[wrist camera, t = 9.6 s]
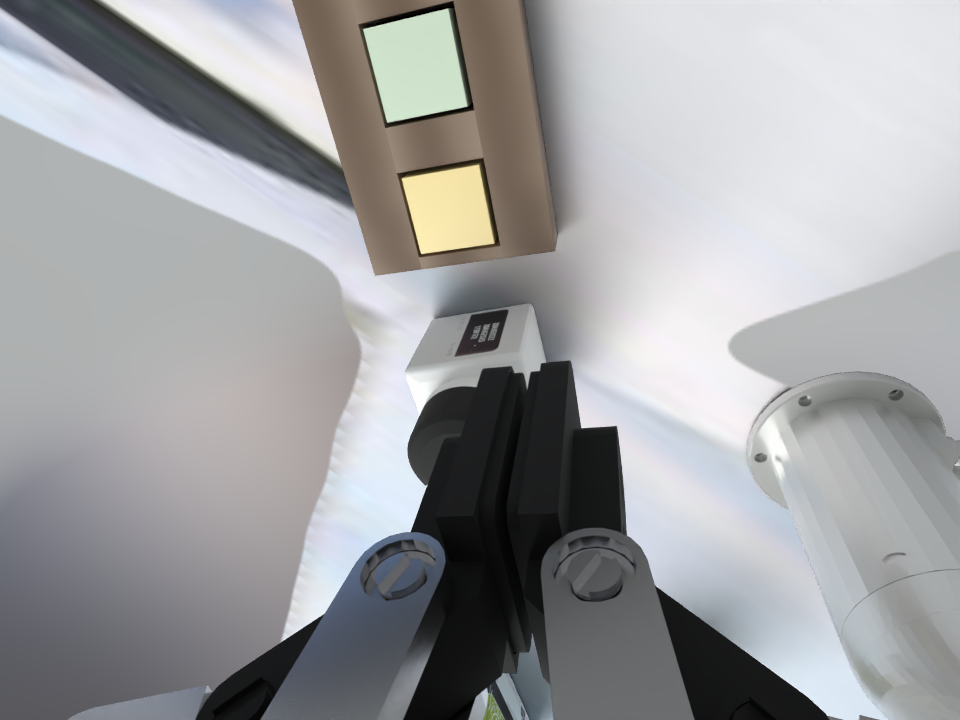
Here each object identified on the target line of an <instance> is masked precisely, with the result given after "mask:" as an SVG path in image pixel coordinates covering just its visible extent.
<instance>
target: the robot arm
mask: <svg viewBox="0 0 960 720" xmlns="http://www.w3.org/2000/svg"><path fill="white" fill-rule="evenodd" d="M747 459H748V465H749V468H750V471H751V473H752V476H753V479H754V481H755V482H756V484H757V485H758V487H759V488H760V490H761V491H762V492H763V493H764V494H765V495H766V496H767V497H768V498H769V499H771V500H772V501H774V502H775V503H777V504H778V505H780V506H782V507H784V508H786V509H788V510H789V511H790V513H791V516H792V518H793V521H794V524H795V526H796V529H797V531H798V534H799V536H800V539H801V542H802V544H803V547H804V549H805V552H806V554H807V557H808V560H809V562H810V565H811V567H812V570H813V572H814V575H815V578H816V580H817V583H818V585H819V588H820V590H821V593H822V596H823V598H824V601H825V603H826V606H827V608H828V611H829V614H830V616H831V619H832V621H833V624H834V626H835V629H836V632H837V634H838V637H839V639H840V642H841V644H842V647H843V650H844V652H845V655H846V657H847V660H848V662H849V665H850V667H851V670H852V672H853V674H854V676H855V678H856V680H857V682H858V684H859V685H860V687H861V688H862V690H863V691H864V693H865V694H866V696H867V697H868V698H869V700H870V701H871V702H872V703H873V704H874V705H875V706H876V708H877V709H878V710H879V711H880V712H881V713H882V714H883V715H884V716H885V717H886V718H888V719H889V720H960V466H956V467H955V466H954V464H956V463H957V461H958V460H960V441H954V440H953V439H952V438H951V437H946V430H945V427H944V423H943V420H942V417H941V416H940V414H939V413H938V411H937V409H936V408H935V407H934V405H933V404H932V403H931V402H930V401H929V400H928V398H927V397H926V396H925V395H924V394H923V393H921V392H920V391H919V390H918V389H916V388H915V387H913V386H912V385H911V384H909V383H906V382H904V381H902V380H899V379H897V378H895V377H891V376H887V375H882V374H879V373H869V372H846V373H836V374H831V375H827V376H822V377H818V378H815V379H813V380H810V381H807V382H805V383H802V384H800V385H798V386H796V387H794V388H792V389H791V390H789V391H787V392H785V393H783V394H782V395H781V396H780V397H778V398H777V399H776V400H774V401H773V402H772V403H771V404H770V405H769V406H768V407H767V408H766V409H765V410H764V411H763V412H762V413H761V414H760V416H759V417H758V419H757V421H756V422H755V424H754V425H753V427H752V429H751V432H750V435H749V438H748V441H747ZM532 633H533V637H534V641H535V646H536V650H537V654H538V658H539V662H540V666H541V670H542V674H543V677H544V678H545V680H546V681H547V682H548V683H549V684H550V685H551V695H552V706H553V718H554V720H842V719H838V718H834V717H830V716H827V715H826V714H825V713H824V712H823V711H822V710H821V709H820V708H819V707H818V706H817V705H815V704H814V703H813V702H812V701H811V700H810V699H809V698H808V697H807V696H805V695H804V694H803V693H801V692H800V691H798V690H797V689H796V688H794V687H793V686H792V685H790V684H789V683H787V682H786V681H785V680H783V679H782V678H781V677H779V676H778V675H777V674H775V673H774V672H772V671H771V670H770V669H768V668H767V667H766V666H764V665H763V664H761V663H760V662H759V661H757V660H756V659H755V658H753V657H752V656H750V655H749V654H748V653H746V652H745V651H744V650H742V649H741V648H740V647H738V646H737V645H735V644H734V643H733V642H731V641H730V640H729V639H727V638H726V637H724V636H723V635H722V634H720V633H719V632H718V631H716V630H715V629H713V628H712V627H711V626H709V625H708V624H707V623H705V622H704V621H703V620H701V619H700V618H698V617H697V616H696V615H694V614H693V613H692V612H690V611H689V610H687V609H686V608H685V607H683V606H682V605H681V604H679V603H678V602H676V601H675V600H674V599H672V598H671V597H670V596H668V595H667V594H666V593H664V592H663V591H661V590H660V589H659V588H657V587H656V586H655V584H654V581H653V577H652V574H651V570H650V567H649V564H648V560H647V558H646V556H645V554H644V552H643V550H642V548H641V547H640V546H639V545H638V544H637V543H636V542H635V541H633V540H632V539H631V538H630V537H628V536H627V531H626V514H625V499H624V486H623V475H622V465H621V456H620V447H619V438H618V430H617V426H612V427H596V428H581V423H580V417H579V410H578V403H577V396H576V390H575V383H574V376H573V370H572V364H571V361H560V362H549V363H541V366H540V371H533V372H531V373H530V377H529V383H528V388H527V386H526V381H525V376H524V374H523V372H522V373H514V370H513V368H512V366H506V367H495V368H484V369H482V371H481V374H480V377H479V381H478V384H477V387H476V390H475V393H474V396H473V400H472V403H471V406H470V409H469V412H468V415H467V418H466V422H465V425H464V428H463V431H462V434H461V436H456V437H447V438H445V439H444V441H443V443H442V446H441V448H440V451H439V454H438V457H437V460H436V463H435V465H434V468H433V471H432V474H431V477H430V479H429V482H428V485H427V488H426V491H425V494H424V496H423V499H422V502H421V505H420V508H419V510H418V513H417V516H416V519H415V522H414V524H413V527H412V530H411V532H405V533H400V534H396V535H392V536H389V537H387V538H385V539H383V540H381V541H379V542H377V543H375V544H374V545H373V546H372V547H370V548H369V549H368V550H367V551H365V552H364V553H363V555H362V556H361V557H360V558H359V560H358V561H357V562H356V564H355V565H354V567H353V568H352V570H351V572H350V573H349V575H348V577H347V578H346V580H345V582H344V583H343V585H342V587H341V588H340V590H339V591H338V593H337V595H336V596H335V598H334V600H333V601H332V603H331V605H330V606H329V608H328V610H327V611H326V613H325V614H324V615H322V616H321V617H319V618H318V619H316V620H315V621H313V622H312V623H310V624H308V625H307V626H305V627H304V628H302V629H301V630H299V631H298V632H296V633H295V634H293V635H292V636H290V637H289V638H287V639H286V640H284V641H283V642H281V643H280V644H278V645H277V646H275V647H274V648H272V649H271V650H269V651H267V652H266V653H264V654H263V655H261V656H260V657H258V658H257V659H255V660H254V661H252V662H251V663H249V664H248V665H246V666H245V667H243V668H242V669H240V670H239V671H237V672H236V673H234V674H233V675H231V676H230V677H229V678H228V679H227V680H225V681H224V682H223V683H222V684H220V685H219V686H218V687H217V688H216V689H215V691H214V692H212V691H211V690H210V688H209V687H208V686H207V685H206V686H200V687H195V688H190V689H186V690H180V691H176V692H170V693H165V694H160V695H155V696H150V697H146V698H141V699H136V700H131V701H126V702H121V703H116V704H111V705H106V706H101V707H96V708H92V709H89V710H86V711H84V712H81V713H78V714H76V715H74V716H73V717H71V718H70V719H68V720H483V718H484V715H485V711H486V707H487V701H488V691H487V687H489V686H490V685H491V684H492V683H493V682H495V681H496V680H497V679H498V678H500V677H501V676H502V673H510V674H517V666H518V657H519V652H529V651H530V646H531V638H532ZM859 720H878V719H874V718H870V717H866V716H862V715H859Z"/></svg>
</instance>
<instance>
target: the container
mask: <svg viewBox="0 0 960 720" xmlns="http://www.w3.org/2000/svg"><path fill="white" fill-rule="evenodd" d="M541 363H546V359H545V354H544V350H543V346H542V341H541V337H540V333H539V329H538V324H537V320H536V316H535V311H534V308H533V306H532V305H531V304H528V303H527V304H521V305H515V306H509V307H503V308H497V309H491V310H485V311H479V312H473V313H467V314H461V315H455V316H449V317H443V318H437V319H434V320H432V321H431V323H430V325H429V327H428V329H427V331H426V333H425V334H424V336H423V338H422V340H421V342H420V344H419V346H418V348H417V349H416V351H415V353H414V355H413V357H412V359H411V361H410V363H409V365H408V366H407V368H406V370H405V376H406V379H407V381H408V384H409V387H410V390H411V392H412V395H413V398H414V401H415V404H416V406H417V409H418V412H419V415H420V416H419V418H418V420H417V423H416V425H415V427H414V430H413V432H412V434H411V436H410V439H409V442H408V458H409V462H410V465H411V467H412V469H413V471H414V473H415V474H416V475H417V477H418V478H419V479H420V481H421V482H422V483H423V484H424V485H425V486H427V485H428V482H429V479H430V477H431V474H432V471H433V468H434V465H435V463H436V460H437V457H438V454H439V451H440V448H441V446H442V443H443V441H444V439H445V438H447V437H456V436H461V434H462V431H463V428H464V425H465V422H466V418H467V415H468V412H469V409H470V406H471V403H472V400H473V396H474V393H475V390H476V387H477V384H478V381H479V377H480V374H481V371H482V369H484V368H495V367H506V366H512V368H513V370H514V373H522V372H523V374H524V376H525V381H526V386H527V388H528V383H529V377H530V373H531V372H533V371H540V366H541Z"/></svg>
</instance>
